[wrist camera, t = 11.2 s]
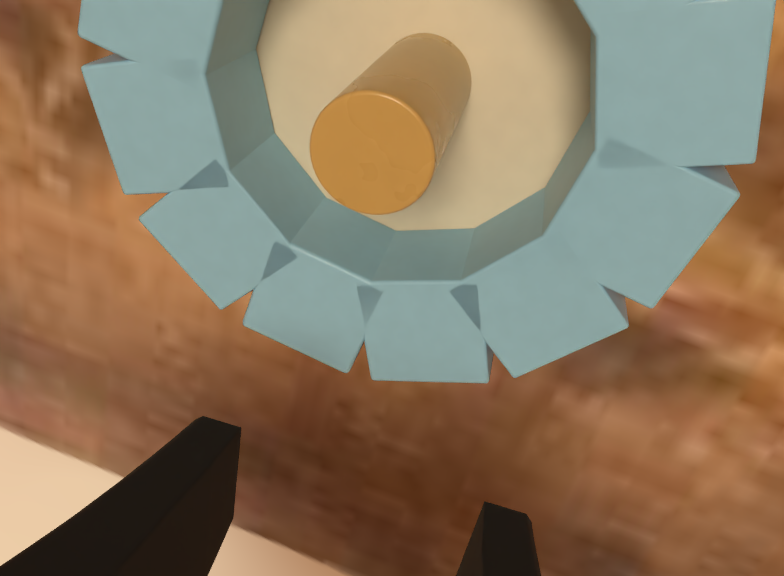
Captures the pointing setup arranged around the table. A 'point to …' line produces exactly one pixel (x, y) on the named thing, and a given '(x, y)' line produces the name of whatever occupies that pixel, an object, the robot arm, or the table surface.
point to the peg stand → (426, 101)
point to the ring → (443, 246)
